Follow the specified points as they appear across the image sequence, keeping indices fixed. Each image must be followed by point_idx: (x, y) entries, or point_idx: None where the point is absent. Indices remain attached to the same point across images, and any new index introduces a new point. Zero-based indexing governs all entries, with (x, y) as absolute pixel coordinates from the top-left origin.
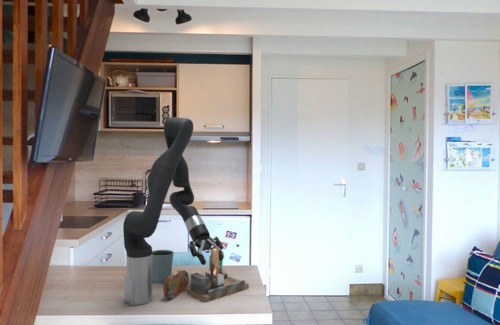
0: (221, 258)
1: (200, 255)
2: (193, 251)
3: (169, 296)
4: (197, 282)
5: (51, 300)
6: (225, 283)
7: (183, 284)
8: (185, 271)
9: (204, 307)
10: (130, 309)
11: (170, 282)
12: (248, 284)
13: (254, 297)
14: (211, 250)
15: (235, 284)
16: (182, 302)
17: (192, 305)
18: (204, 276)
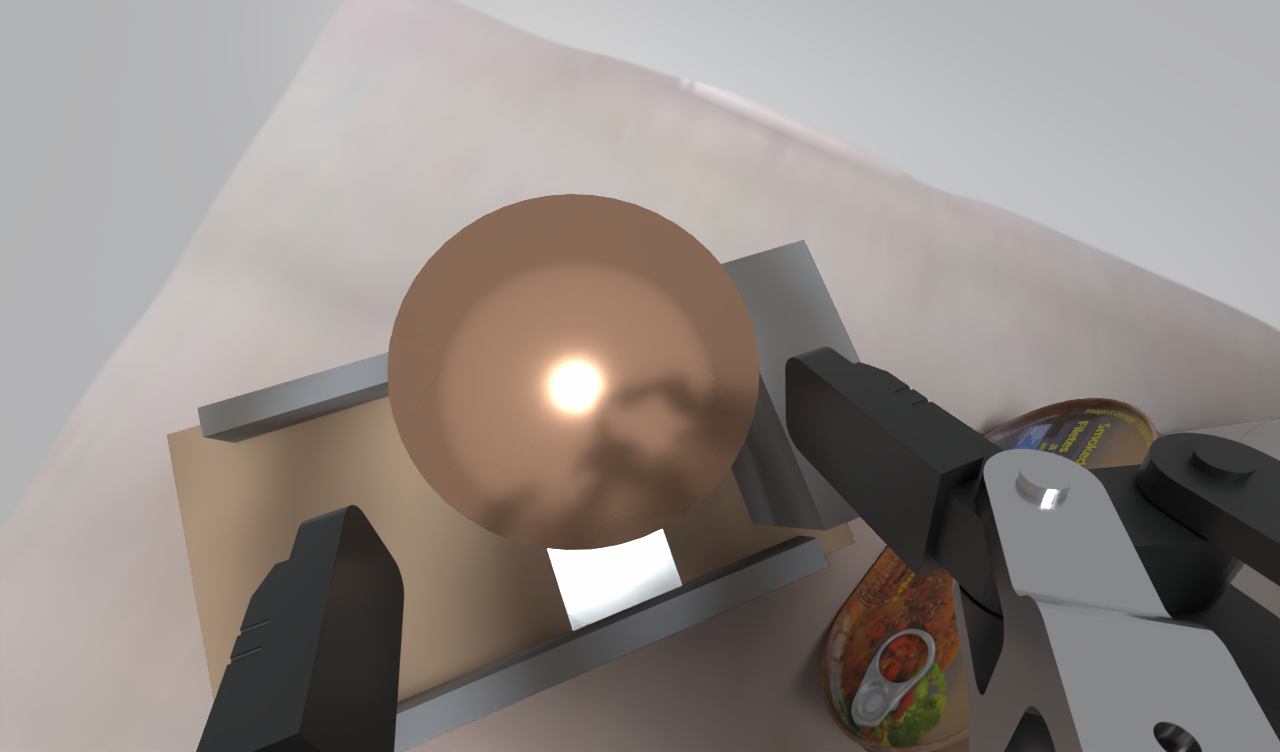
0: (359, 527)
1: (981, 464)
2: (1277, 695)
3: (1010, 422)
4: None
5: None
6: (419, 539)
7: (890, 631)
8: (957, 739)
9: (749, 206)
10: (1235, 381)
11: (1113, 444)
12: (176, 437)
13: (294, 215)
14: (730, 311)
15: (363, 363)
16: (887, 356)
17: (824, 273)
18: (762, 333)
